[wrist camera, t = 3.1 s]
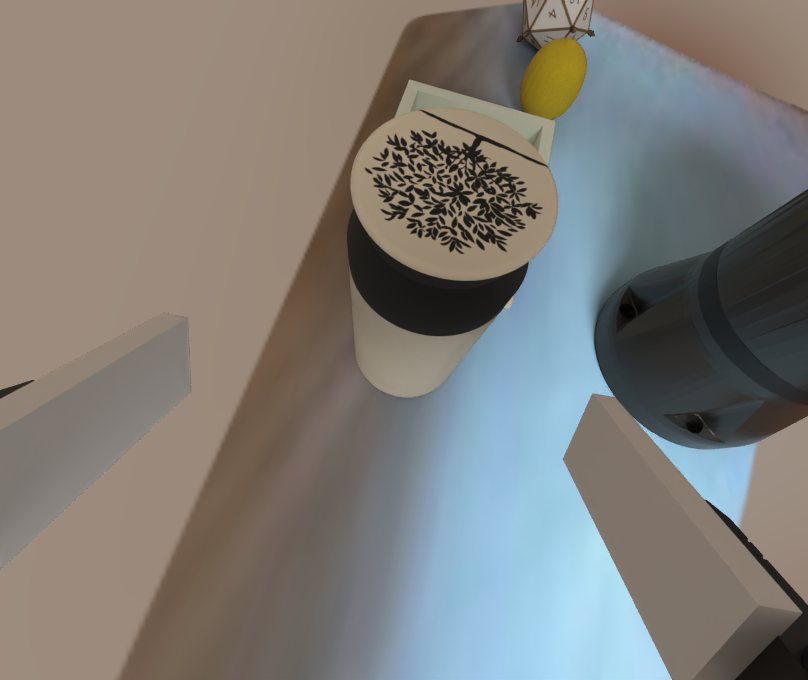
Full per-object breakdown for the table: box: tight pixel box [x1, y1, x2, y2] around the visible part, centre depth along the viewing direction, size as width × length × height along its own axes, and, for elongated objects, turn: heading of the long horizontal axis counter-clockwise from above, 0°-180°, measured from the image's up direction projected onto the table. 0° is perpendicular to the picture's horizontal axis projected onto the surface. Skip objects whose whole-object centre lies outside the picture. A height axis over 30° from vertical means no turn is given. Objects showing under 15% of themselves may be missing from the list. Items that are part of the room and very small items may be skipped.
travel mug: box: [347, 108, 558, 397], centre depth 22 cm, size 8×8×18 cm
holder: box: [395, 80, 556, 309], centre depth 33 cm, size 18×14×6 cm
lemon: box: [520, 37, 587, 120], centre depth 37 cm, size 6×6×8 cm
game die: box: [516, 0, 595, 50], centre depth 41 cm, size 9×8×10 cm
